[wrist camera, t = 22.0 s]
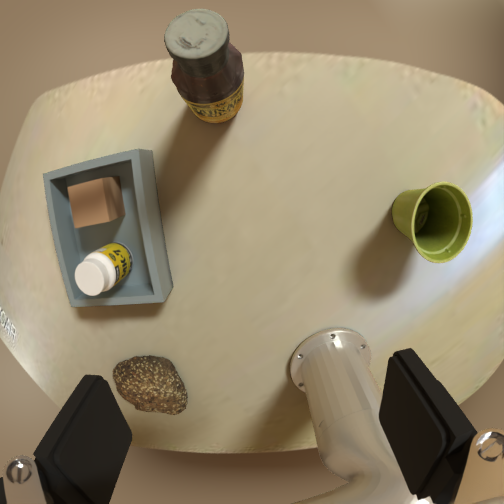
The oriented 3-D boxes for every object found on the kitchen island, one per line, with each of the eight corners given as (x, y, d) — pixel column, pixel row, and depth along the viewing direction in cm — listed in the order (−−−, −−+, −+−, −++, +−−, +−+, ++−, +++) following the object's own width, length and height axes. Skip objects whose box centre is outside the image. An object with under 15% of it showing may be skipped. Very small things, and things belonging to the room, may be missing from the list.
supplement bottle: (139, 271, 38) (113, 296, 30) (110, 278, 39) (80, 302, 30) (127, 237, 37) (98, 254, 29) (99, 245, 37) (66, 263, 29)
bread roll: (178, 352, 43) (171, 372, 39) (193, 409, 47) (189, 430, 42) (105, 352, 44) (93, 369, 39) (127, 407, 47) (119, 425, 42)
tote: (173, 286, 40) (163, 302, 35) (87, 293, 40) (71, 306, 36) (152, 150, 35) (138, 148, 30) (63, 172, 36) (43, 174, 31)
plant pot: (396, 165, 36) (430, 166, 28) (445, 196, 37) (482, 205, 29) (369, 228, 38) (398, 244, 30) (420, 254, 39) (453, 274, 31)
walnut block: (125, 214, 36) (109, 221, 32) (93, 220, 37) (74, 228, 32) (119, 176, 35) (101, 178, 30) (87, 184, 35) (67, 187, 30)
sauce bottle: (202, 132, 35) (151, 97, 16) (186, 88, 33) (127, 22, 14) (252, 114, 34) (256, 58, 15) (236, 70, 33) (223, -15, 14)
